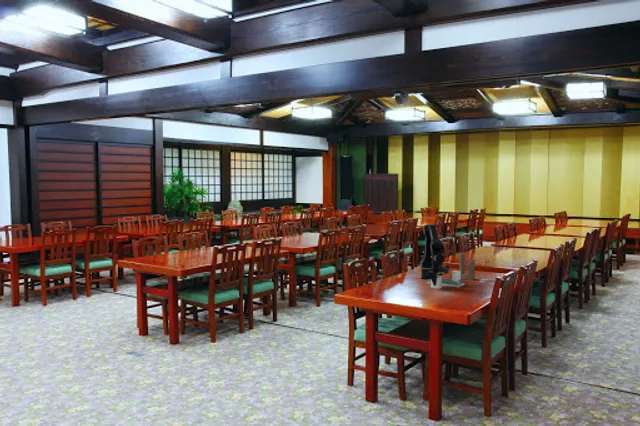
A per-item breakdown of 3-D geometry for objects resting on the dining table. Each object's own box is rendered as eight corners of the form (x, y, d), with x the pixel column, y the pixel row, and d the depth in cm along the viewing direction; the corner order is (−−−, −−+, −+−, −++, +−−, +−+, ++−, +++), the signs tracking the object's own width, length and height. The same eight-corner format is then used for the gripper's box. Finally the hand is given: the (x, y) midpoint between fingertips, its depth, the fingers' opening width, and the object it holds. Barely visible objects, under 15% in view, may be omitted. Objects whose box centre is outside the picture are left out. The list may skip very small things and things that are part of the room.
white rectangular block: (430, 287, 340) (430, 275, 340) (433, 286, 344) (433, 274, 344) (439, 288, 337) (439, 276, 336) (442, 287, 341) (442, 275, 340)
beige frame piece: (472, 280, 365) (473, 254, 364) (458, 278, 371) (458, 253, 370) (474, 279, 368) (475, 254, 367) (460, 277, 374) (460, 252, 373)
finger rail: (427, 283, 353) (427, 269, 353) (433, 281, 362) (433, 267, 361) (459, 287, 341) (459, 272, 340) (464, 284, 349) (464, 270, 348)
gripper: (442, 264, 327) (442, 289, 328) (453, 260, 342) (453, 284, 343) (426, 262, 334) (426, 287, 335) (437, 259, 349) (437, 282, 350)
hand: (436, 285), depth 340 cm, fingers closed on white rectangular block, 4 cm apart
